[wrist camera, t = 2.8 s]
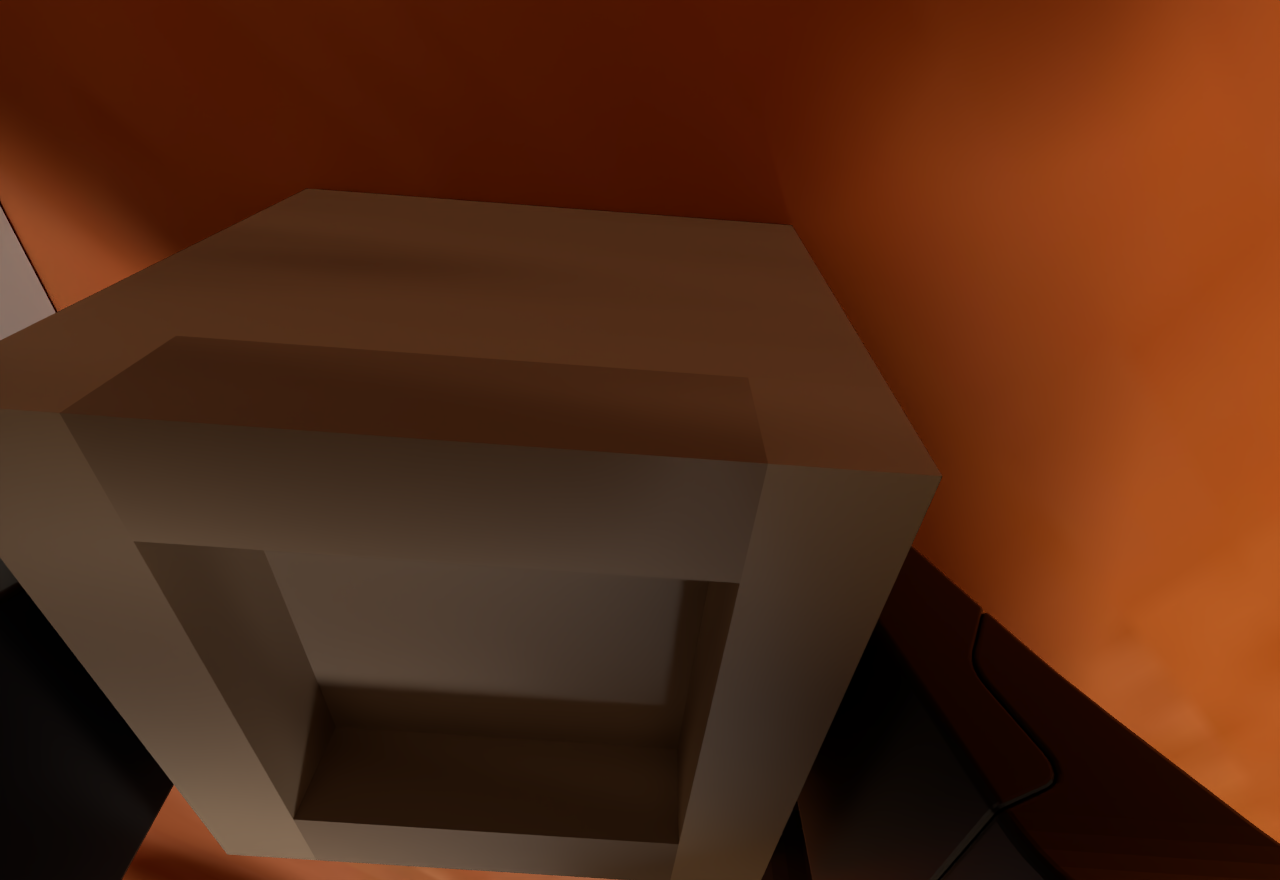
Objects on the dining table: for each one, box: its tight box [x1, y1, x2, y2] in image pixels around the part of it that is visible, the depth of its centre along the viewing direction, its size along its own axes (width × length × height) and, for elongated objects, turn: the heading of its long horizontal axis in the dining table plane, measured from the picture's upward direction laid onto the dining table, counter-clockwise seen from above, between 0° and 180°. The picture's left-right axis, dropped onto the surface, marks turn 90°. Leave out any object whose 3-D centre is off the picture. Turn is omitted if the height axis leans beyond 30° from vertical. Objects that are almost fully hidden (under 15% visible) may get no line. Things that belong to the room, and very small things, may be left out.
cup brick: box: [0, 188, 942, 880], centre depth 7 cm, size 6×6×5 cm
